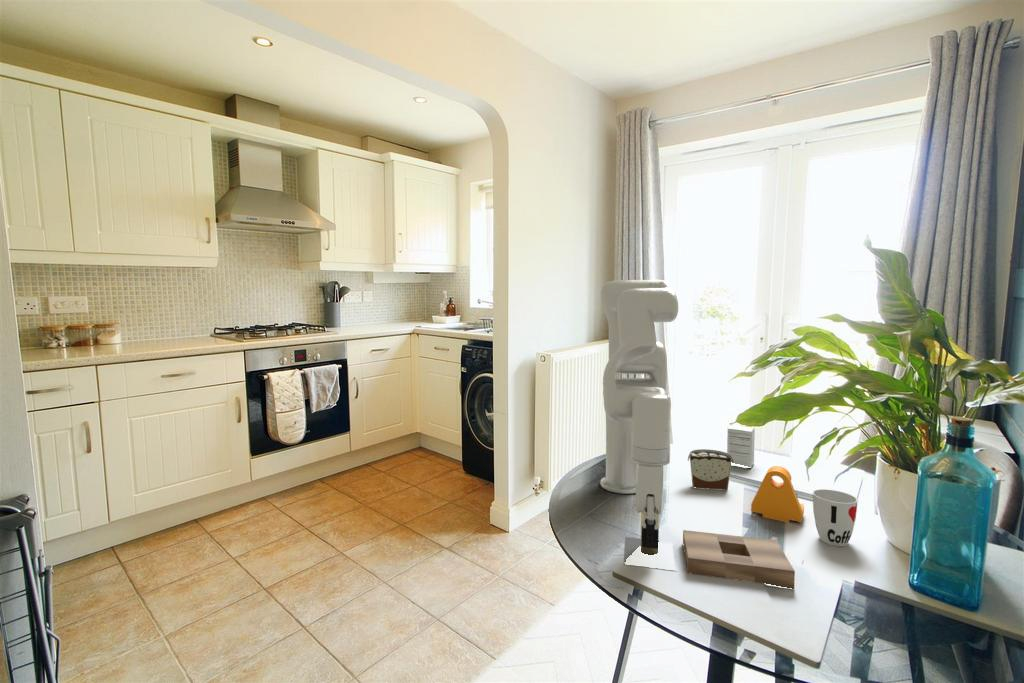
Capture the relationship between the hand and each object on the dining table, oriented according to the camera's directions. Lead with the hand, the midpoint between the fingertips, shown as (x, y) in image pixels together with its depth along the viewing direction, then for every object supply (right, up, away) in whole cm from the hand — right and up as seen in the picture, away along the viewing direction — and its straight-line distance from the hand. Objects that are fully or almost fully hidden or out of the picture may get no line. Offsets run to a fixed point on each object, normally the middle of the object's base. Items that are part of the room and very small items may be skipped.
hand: (649, 538), depth 97 cm
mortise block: (+15, -4, -4) cm, 16 cm away
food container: (+29, -2, +40) cm, 49 cm away
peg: (0, -3, 0) cm, 3 cm away
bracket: (+38, -3, +20) cm, 43 cm away
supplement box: (+47, 0, +59) cm, 75 cm away
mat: (0, -4, 0) cm, 4 cm away
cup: (+42, -3, +6) cm, 43 cm away
